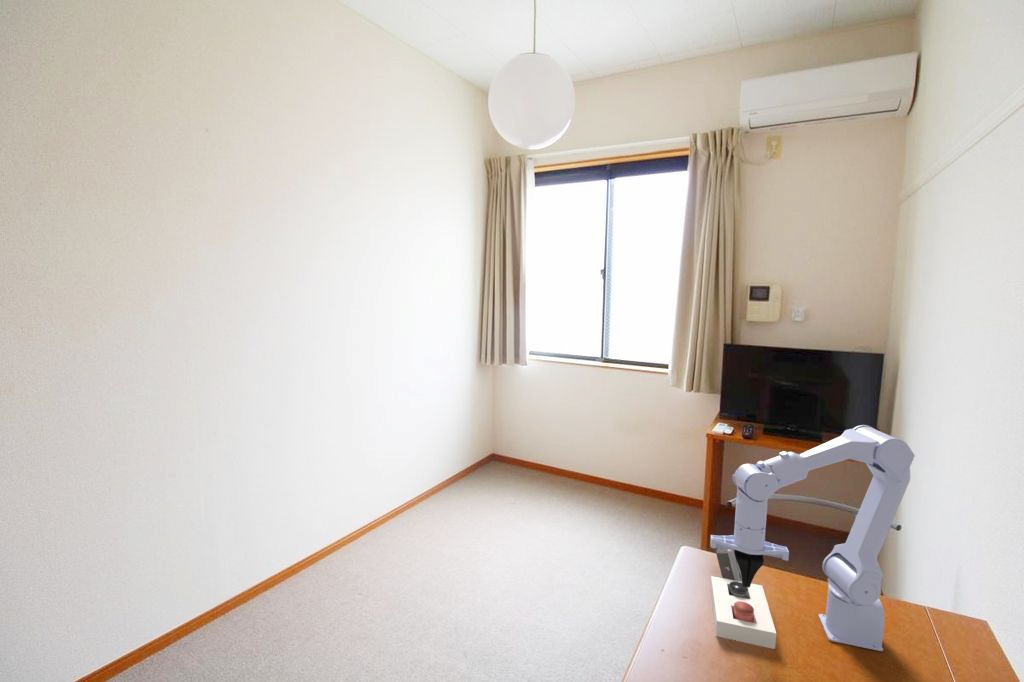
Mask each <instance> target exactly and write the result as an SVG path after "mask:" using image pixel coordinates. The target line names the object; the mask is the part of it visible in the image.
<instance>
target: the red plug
mask: <svg viewBox="0 0 1024 682" xmlns="http://www.w3.org/2000/svg"><path fill="white" fill-rule="evenodd" d="M753 614H754V608H753V607H752V606H751V605H750V604H748V603H746V602H741V601H738V602H735V603H734V619H737V620H742V621H747V622H751V623H752V622H753Z"/></svg>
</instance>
